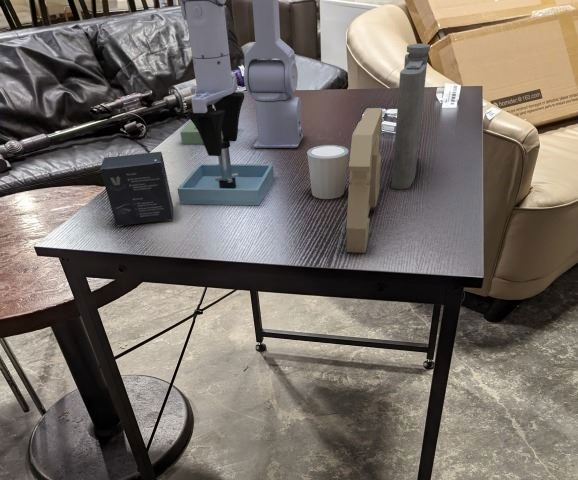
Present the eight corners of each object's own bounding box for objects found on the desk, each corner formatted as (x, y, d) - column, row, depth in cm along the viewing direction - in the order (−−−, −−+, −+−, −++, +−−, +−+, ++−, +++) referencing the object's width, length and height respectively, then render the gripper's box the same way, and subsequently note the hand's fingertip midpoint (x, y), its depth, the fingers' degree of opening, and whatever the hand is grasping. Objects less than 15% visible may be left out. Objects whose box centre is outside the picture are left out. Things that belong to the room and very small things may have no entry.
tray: (274, 178, 98) (273, 164, 96) (259, 205, 89) (257, 190, 87) (201, 177, 100) (199, 163, 98) (179, 203, 91) (177, 188, 89)
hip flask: (397, 157, 102) (407, 36, 89) (418, 158, 102) (431, 35, 88) (390, 189, 91) (401, 54, 78) (414, 189, 90) (429, 54, 77)
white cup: (308, 186, 94) (307, 145, 89) (346, 184, 94) (347, 143, 89) (308, 201, 89) (306, 158, 84) (348, 199, 88) (349, 156, 84)
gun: (366, 257, 73) (373, 140, 64) (343, 256, 73) (346, 140, 65) (379, 202, 92) (385, 106, 83) (360, 201, 93) (364, 106, 84)
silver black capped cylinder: (235, 181, 96) (229, 135, 91) (242, 189, 93) (237, 141, 88) (213, 186, 95) (206, 139, 90) (220, 193, 92) (213, 146, 87)
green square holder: (237, 130, 122) (235, 118, 120) (225, 144, 115) (223, 132, 113) (196, 130, 124) (194, 118, 122) (182, 144, 116) (180, 132, 115)
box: (174, 207, 90) (162, 150, 84) (173, 221, 86) (161, 161, 80) (119, 214, 89) (103, 156, 83) (116, 227, 85) (99, 168, 79)
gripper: (204, 46, 87) (216, 134, 96) (166, 65, 76) (184, 161, 85) (245, 45, 85) (253, 135, 94) (211, 65, 75) (224, 163, 84)
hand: (222, 147), depth 89 cm, fingers open, 7 cm apart
